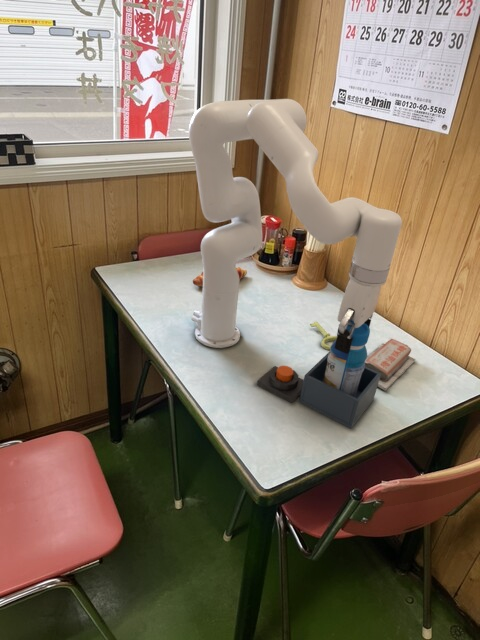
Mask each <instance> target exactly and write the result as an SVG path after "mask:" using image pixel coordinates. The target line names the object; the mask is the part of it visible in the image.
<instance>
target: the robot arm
mask: <svg viewBox="0 0 480 640" xmlns="http://www.w3.org/2000/svg"><path fill="white" fill-rule="evenodd" d="M307 120H308V119H307V113H306V111H305V109H304V108H303V106H302V105H301V104H300V103H299V102H298V101H296V100H294V99H291V98H276V99H275V98H274V99H239V100H238V99H237V100H221V101H219V100H218V101H213V102H210V103H207V104H204V105H202V106H201V107H199V108H198V109H197V110H196V111H195V112H194V113H193V115H192V117H191V119H190V122H189V126H188V141H189V146H190V149H191V153H192V156H193V160H194V164H195V171H196V180H197V186H198V194H199V201H200V208H201V211H202V215H203V217H204V218H205V219H206V221H208V222H210V223H222V222H227V221H230V220H231V223H228V224H225V225H222V226H219V227H216V228H213V229H211V230H210V231H208V232H207V233H206V234H205V235H204V236H203V238H202V239H201V243H200V255H201V261H202V272H203V287H202V293H201V295H202V297H201V298H202V299H201V311H200V310H197V309H196V310H194V311H193V315H192V316H191V321H192V322H195V323H197V326H196V327H195V330H194V336H195V338H196V340H197V341H198V343H200V344H201V345H204V346H206V347H210V348H214V349H215V348H216V349H223V348H229V347H232V346H234V345H236V344H237V343H239V341H240V338H241V331H240V329H239V328H238V327H237V325H236V324H237V313H238V303H239V292H240V280H239V274H238V272H237V270H236V268H237V267H236V264H237V263H238V262H240V261H242V260H244V259H246V258H249V257H251V256H253V255H255V254H256V253H258V252H259V250H260V249H261V247H262V244H263V223H262V213H261V202H260V196H259V192H258V190H257V187H256V185H255V184H254V183H253V182H252V181H251V180H250V179H249V178H247V177H243V176H236V177H234V173H233V164H232V160H231V157H230V155H229V153H228V151H227V150H226V148H225V147H224V144H226V143H234V142H240V141H246V140H254V142H255V143H256V145H257V146H258V147H259V148H260V149H261V150H262V152H263V153H264V154H265V156H266V157H267V158H268V159H269V161H270V162H271V163H272V164H273V166H274V167H275V168H276V170H277V171H278V172H279V173H280V174H281V176H282V177H283V178H284V181H285V190H286V195H287V198H288V202H289V205H290V209H291V210H292V212H293V214H294V216H295V217H296V218H297V220H298V221H299V222H300V224H301V225H302V226H303V227H304V229H305V230H306V232H308V233H309V234H310V236H312V237H313V238H314V239H315V240H316V241H317V242H319V243H321V244H323V245H336V244H338V243H340V242H343V241H345V240H347V239H349V238H353V237H356V241H355V244H354V250H353V253H352V254H353V255H352V258H351V263H350V268H349V272H348V277H349V280H348V282H347V285H346V287H345V290H344V294H343V296H342V300H341V304H340V306H339V311H338V314H337V317H336V318H337V322H339V324H338V327H339V329H338V328H337V332H338V333H337V332H336V336H337V340H336V344H335V349H337V350H339V351H341V352H344V353H346V354H348V353H349V352H350V348H351V344H352V340H353V338H352V335H353V333H354V331H355V328H358V327H360V326H361V325H362V324H363V323H365V324H366V325H367V326H368V327H369V328H370V326H371V322H372V318H373V316H374V313H375V311H376V309H377V306H378V301H379V298H380V293H381V289H382V286H384V285H385V284H386V283H387V280H388V277H389V272H390V269H391V265H392V261H393V257H394V254H395V250H396V247H397V244H398V243H397V242H398V240H399V236H400V233H401V229H402V224H403V220H402V217H401V215H399V214H398V212H396V211H393V210H390V209H385V208H379V207H376V206H374V205H373V204H371V203H369V202H367V201H366V200H363V199H361V198H358V197H352V196H351V197H346V198H342V199H340V200H337V201H333V202H330V201H329V200H328V198H326V196H325V195H324V194H323V191H321V190H320V188H319V185H317V182H316V179H315V176H314V169H315V168H314V167H315V165H316V164H317V162H318V160H319V150H318V149H317V147H316V145H314V144H313V142H311V140H310V139H309V138H308V136H307V135H306V134H305V131H306V129H307V128H306V127H307V124H308V123H307ZM350 320H351V321H354V324H352V323H350ZM347 325H348V326H350V327H352V328H351V330H350V332H349V331H348V330H347ZM337 334H338V335H337Z"/></svg>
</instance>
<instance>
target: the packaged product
mask: <svg viewBox="0 0 480 640" xmlns="http://www.w3.org/2000/svg"><path fill="white" fill-rule="evenodd" d="M411 352H412V348H410V346H409V345H408V344H405V343H404V342H401V341H399V340H397V339H395V338H390V339H389V340H387V341H386V342H385V343H381V344H380V345H379V346H378V347H377V348H375V349H374V350H373V351H372V352H370V353H369V354H367V358H366V360H365V367H367V368H370V369H372V370H374V371H376V372H378V373H381V376H380V379H379V383H378V386H377V388H380V389H381V390H383V391H385V392H386V391H387V390H388V389H389V388H390V387H391V386H392V385H393V383H394V382H395V381H397V379H398V378H400V377H401V376H402V375H404V374H405V372H406V370H407V369H409V367H411V366H412V365H413V363H414V362H416V358H414V357H412V356H410V354H411Z"/></svg>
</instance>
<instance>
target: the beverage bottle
mask: <svg viewBox="0 0 480 640" xmlns="http://www.w3.org/2000/svg"><path fill="white" fill-rule="evenodd" d="M350 323H352V324H354V321H351V320H350ZM337 327H338V328H337V330H338V329H339V326H337ZM351 328H352V327H350V326H348V325H347V330H348V331H349V332H350V330H351ZM337 333H338V331H337V332H336V336H337V335H338V334H337ZM370 334H371V328H370V327H368V326H367V325H366V324H365V323H363V324H362V325H361V326H360V327H358V328H355V331H354V333H353V335H352V338H353V340H352V344H351V348H350V352H349V353H348V354H346V353H344V352H341V351H339V350H337V349H335V344H336V340H337V339H336V340H335V341H332V344H331V345H330V346H331V348H330V350H329V352H330V353H329V355H328V358H327V367H326V372H325V376H324V381H323V382H324V383H326V384H328V385H330V386H332V387H334V388H336V389H338V390H340V391H343V392H345V393H347V394H349V395H351V396H353V397H355V398H356V393H357V389H358V385H359V382H360V378H361V375H362V372H363V371H364V368H365V360H366V358H367V356H368V350H367V347H366V345H367V343H368V342H369V338H370Z"/></svg>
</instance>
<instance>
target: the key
mask: <svg viewBox="0 0 480 640" xmlns="http://www.w3.org/2000/svg"><path fill="white" fill-rule="evenodd" d="M309 326H310V327H311V328H314V327H315V328H316V329H317V330H318V331H319V332H320V333H321V334H322V335H323V339H322V340H321V343H320V344H321V345H320V346H321V347H322V349H324V350H327V351H330V348H331V345H329V344H328V345H327V344H326V343H327V342H334V341H335V340H336V339H337V335H332V336H331V334H330V333H328V332H327V331H326V330H325V329H324V328H323V326H322V325H320V323H319V322H318V321H314V322H313V323H309Z"/></svg>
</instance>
